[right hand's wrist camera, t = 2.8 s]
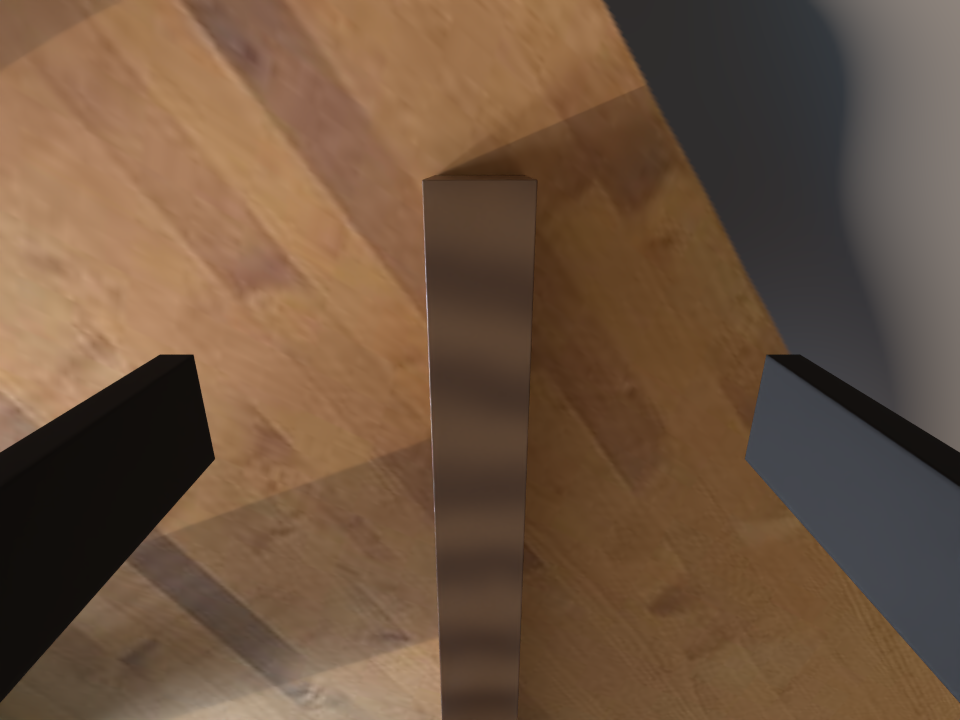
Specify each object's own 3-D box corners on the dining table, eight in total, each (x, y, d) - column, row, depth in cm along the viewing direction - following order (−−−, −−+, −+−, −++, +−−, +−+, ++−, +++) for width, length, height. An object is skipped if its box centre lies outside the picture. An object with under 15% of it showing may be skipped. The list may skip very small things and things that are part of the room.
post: (434, 175, 35) (422, 179, 27) (525, 175, 35) (537, 179, 27) (452, 799, 58) (448, 892, 50) (507, 799, 58) (511, 892, 50)
